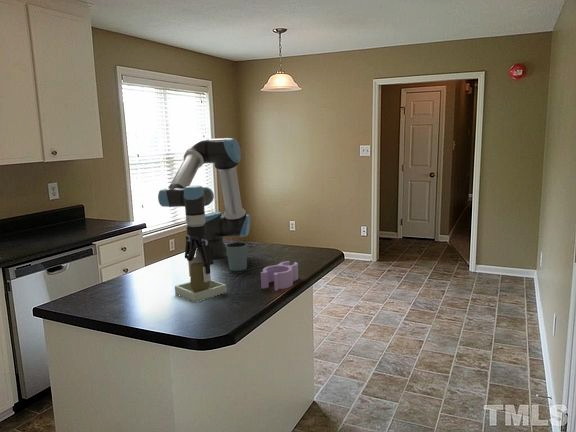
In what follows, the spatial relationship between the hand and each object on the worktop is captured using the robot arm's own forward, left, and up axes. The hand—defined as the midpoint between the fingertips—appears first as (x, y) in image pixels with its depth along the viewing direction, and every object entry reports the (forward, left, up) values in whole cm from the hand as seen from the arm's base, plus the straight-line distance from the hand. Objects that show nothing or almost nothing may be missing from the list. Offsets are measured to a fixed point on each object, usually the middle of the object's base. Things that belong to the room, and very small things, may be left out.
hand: (199, 278), depth 188 cm
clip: (+14, +31, -7) cm, 35 cm away
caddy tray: (0, 0, -6) cm, 6 cm away
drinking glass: (-18, +32, -7) cm, 37 cm away
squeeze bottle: (0, 0, -6) cm, 6 cm away
